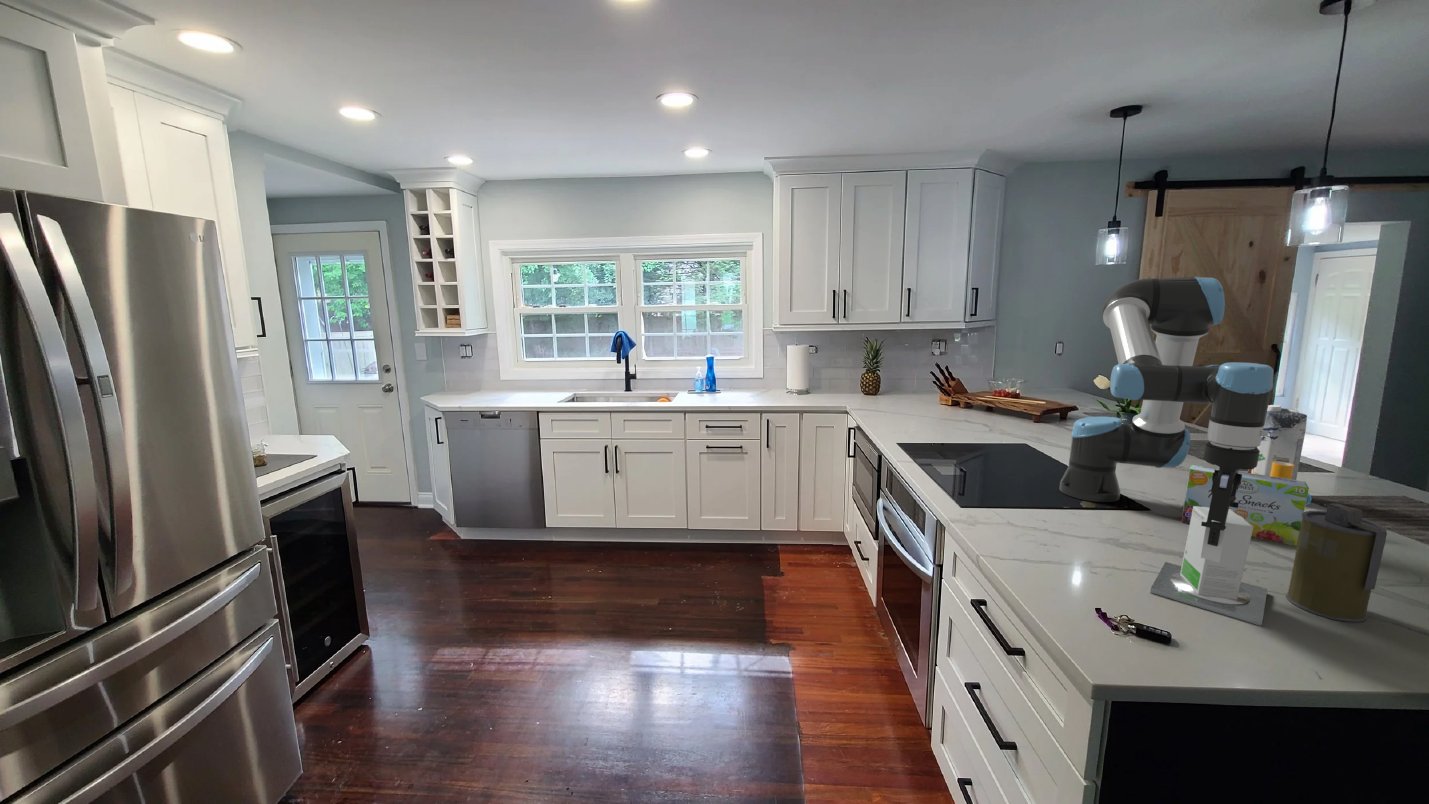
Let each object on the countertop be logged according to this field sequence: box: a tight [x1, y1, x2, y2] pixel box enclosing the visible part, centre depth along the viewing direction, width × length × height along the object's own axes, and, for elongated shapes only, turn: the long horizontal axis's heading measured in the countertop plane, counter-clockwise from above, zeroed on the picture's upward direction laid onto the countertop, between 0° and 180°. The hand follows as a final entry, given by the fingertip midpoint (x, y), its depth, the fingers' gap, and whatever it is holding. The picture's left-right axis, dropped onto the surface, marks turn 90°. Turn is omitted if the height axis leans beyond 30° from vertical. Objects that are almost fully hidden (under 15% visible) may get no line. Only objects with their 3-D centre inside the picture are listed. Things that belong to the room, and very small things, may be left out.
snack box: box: [1180, 464, 1310, 547], centre depth 137 cm, size 21×6×15 cm, turn 47°
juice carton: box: [1247, 404, 1308, 480], centre depth 160 cm, size 9×10×27 cm
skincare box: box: [1180, 506, 1253, 600], centre depth 108 cm, size 8×7×16 cm
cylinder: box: [1270, 461, 1312, 506], centre depth 145 cm, size 12×10×15 cm
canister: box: [1285, 503, 1388, 623], centre depth 102 cm, size 11×10×20 cm
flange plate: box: [1150, 561, 1268, 627], centre depth 110 cm, size 16×16×1 cm
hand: (1214, 547), depth 109 cm, fingers open, 13 cm apart
